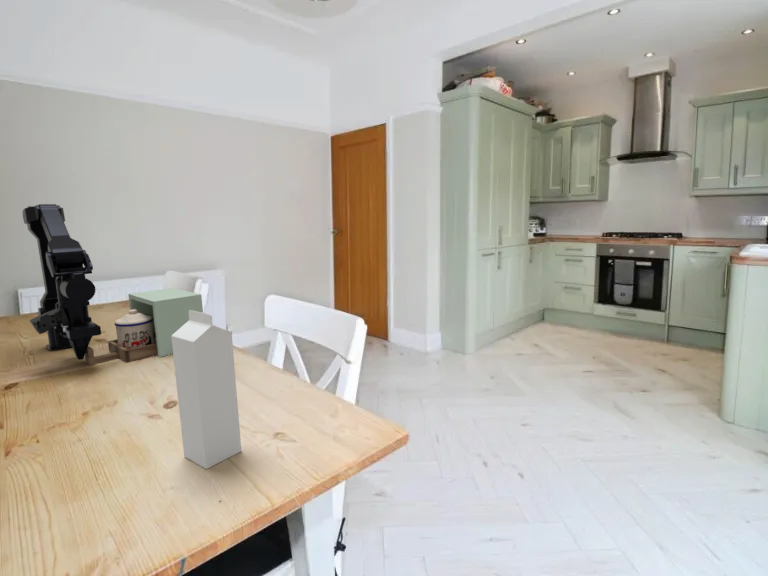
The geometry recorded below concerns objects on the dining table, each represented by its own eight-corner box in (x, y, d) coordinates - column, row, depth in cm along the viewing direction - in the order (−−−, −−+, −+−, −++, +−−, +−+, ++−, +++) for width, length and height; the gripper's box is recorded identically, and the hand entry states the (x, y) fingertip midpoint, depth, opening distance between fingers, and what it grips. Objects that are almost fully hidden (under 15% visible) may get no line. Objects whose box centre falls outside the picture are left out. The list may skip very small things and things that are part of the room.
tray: (80, 357, 115) (78, 343, 114) (171, 338, 131) (170, 325, 131) (96, 369, 105) (93, 353, 104) (192, 346, 122) (190, 333, 121)
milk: (219, 440, 70) (207, 306, 67) (242, 451, 66) (231, 310, 63) (183, 457, 65) (168, 313, 62) (205, 470, 62) (191, 318, 58)
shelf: (134, 344, 126) (128, 293, 124) (177, 334, 135) (172, 288, 133) (159, 357, 113) (153, 301, 111) (206, 346, 122) (201, 294, 120)
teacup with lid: (120, 359, 112) (114, 315, 111) (116, 351, 120) (111, 309, 118) (170, 350, 119) (166, 308, 117) (164, 342, 127) (160, 303, 125)
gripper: (23, 298, 107) (32, 359, 109) (38, 307, 94) (47, 376, 96) (77, 292, 115) (84, 349, 117) (97, 300, 102) (105, 364, 104)
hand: (80, 359), depth 109 cm, fingers closed, pressing on tray
